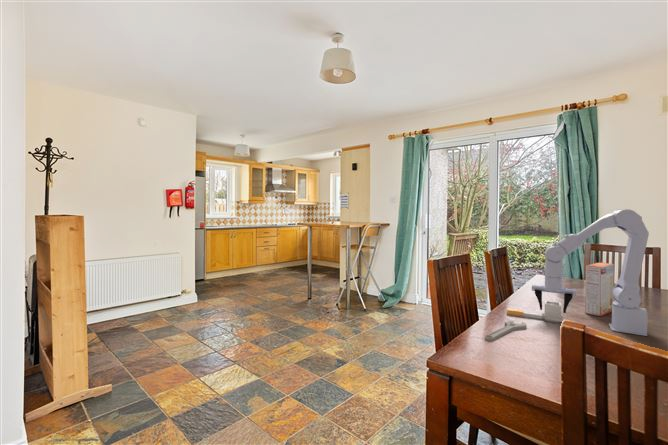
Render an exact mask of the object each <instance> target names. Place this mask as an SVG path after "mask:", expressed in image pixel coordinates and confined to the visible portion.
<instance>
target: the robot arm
mask: <svg viewBox="0 0 668 445" xmlns="http://www.w3.org/2000/svg"><path fill="white" fill-rule="evenodd" d="M613 228H618V229H620V230H622V232H623V233H624V234H626V235H627V236H628V238H627V243H626V248H625V252H624V257H623V261H622V266H621V271H620V276H619V278H618V279H617V281H616V283H615V286H613V289H612V291H611V295H612V297H613V303H612V312H611V323H608V326H609V328H610V329H611V331H613V332H619V333H624V334H630V335H639V336H646V337H647V336H648V310H647V309H646V308H643V307H640V306H639V305H640V304H641V302H642V297H641V295H640V290H641V289H640V288H641V287H640V284H639V281H640V275H641V273H642V272H641V271H642V268H643V263H644V257H645V253H646V249H647V244H648V239H649V235H650V234H649V231H648V228H647V227H646V225H645V222H644V221H643V217H642V216H641V215H640V214H639V213H637V212H636V211H635V210H633V209H626V208H625V209H615V210H613V211H612V212H610V213H608V214H605V215H604V216H602V217H600V218H598V219H597V220H595V221H594V222H593V223H591V224H590V225H588V226H586V227H585V228H584V229H582V230H581V231H579V232H577V233H569V234H565V235H564V238H562V239H560V240H558V241H557V242H553V243H552V246H547V248H546V249H545V251H544V257H546V258H545V265H544V285H536V284H535V285H534V284H531V291H532V292H534V295H535V296H536V299H537V302H538V303H539V304H538V305H539V310H540V311H543V292H544V293H551V294H562V295H563V309H562V310H563V311H562V312H563V314H566V313H567V309H568V307H569V304H570V303H571V301H572V300H573V296H577V290H576V289H573V288H566V287H563V260H564V258H565V256H568V255H569V254H571V253H573V252H575V251H576V250H578V249H579V248H581V247H582V246H583V245H584V241H585V240H588V239H589V238H591V237H592V236H594V235H596V234H598V233H599V232H601V231H603V230H605V229H613Z"/></svg>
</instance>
